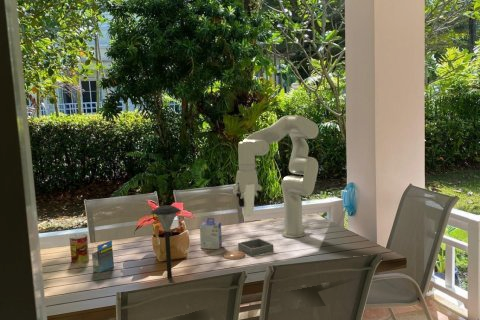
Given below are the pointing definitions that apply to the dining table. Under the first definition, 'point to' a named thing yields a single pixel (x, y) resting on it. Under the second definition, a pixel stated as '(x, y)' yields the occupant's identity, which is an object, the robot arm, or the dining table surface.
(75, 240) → the canned food
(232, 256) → the coaster
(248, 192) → the drinking glass
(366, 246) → the dining table surface
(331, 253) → the dining table surface
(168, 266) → the solar garden light
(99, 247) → the label tape cartridge
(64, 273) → the dining table surface
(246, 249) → the bin
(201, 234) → the ink cartridge box
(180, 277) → the dining table surface
